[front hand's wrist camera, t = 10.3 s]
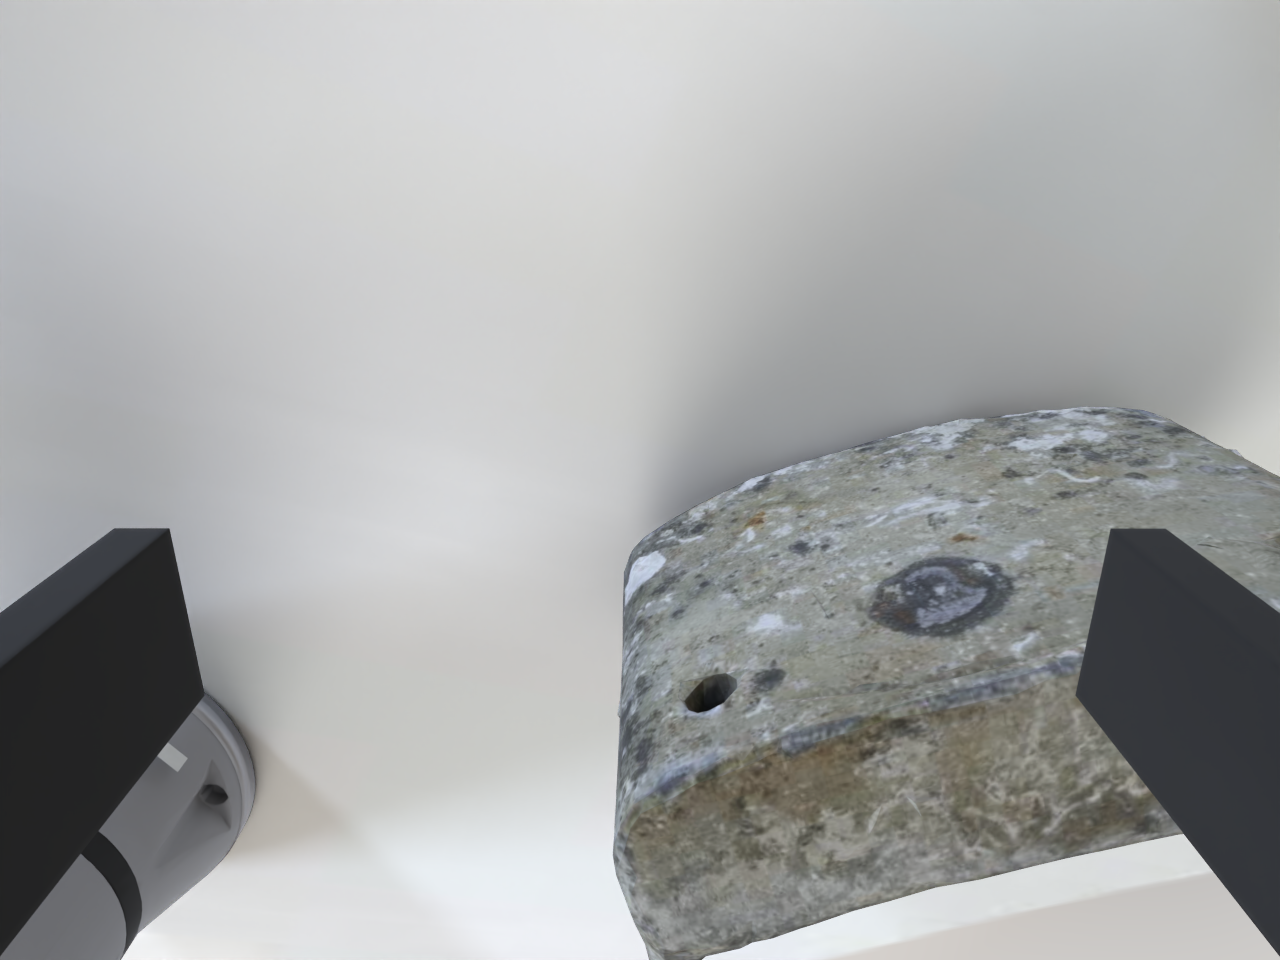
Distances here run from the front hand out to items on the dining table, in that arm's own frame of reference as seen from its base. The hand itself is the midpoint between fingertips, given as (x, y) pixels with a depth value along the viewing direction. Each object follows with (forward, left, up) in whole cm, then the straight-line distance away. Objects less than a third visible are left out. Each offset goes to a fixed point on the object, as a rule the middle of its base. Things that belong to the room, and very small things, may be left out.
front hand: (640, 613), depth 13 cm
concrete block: (0, -16, -29) cm, 33 cm away
